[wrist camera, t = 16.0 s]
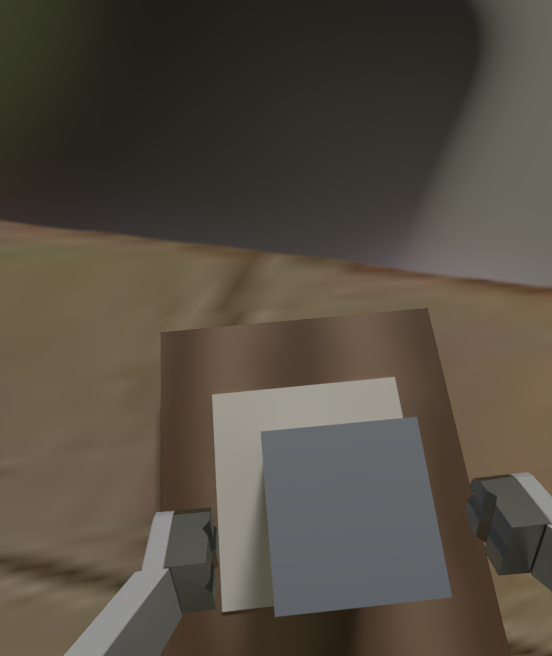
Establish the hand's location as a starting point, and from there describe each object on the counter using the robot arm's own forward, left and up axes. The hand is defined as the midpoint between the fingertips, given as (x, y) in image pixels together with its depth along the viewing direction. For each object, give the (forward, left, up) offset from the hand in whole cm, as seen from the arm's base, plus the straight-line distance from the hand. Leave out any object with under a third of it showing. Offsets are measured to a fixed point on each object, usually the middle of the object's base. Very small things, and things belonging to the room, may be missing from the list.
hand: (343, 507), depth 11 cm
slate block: (0, 0, -7) cm, 7 cm away
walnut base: (0, 0, -12) cm, 12 cm away
